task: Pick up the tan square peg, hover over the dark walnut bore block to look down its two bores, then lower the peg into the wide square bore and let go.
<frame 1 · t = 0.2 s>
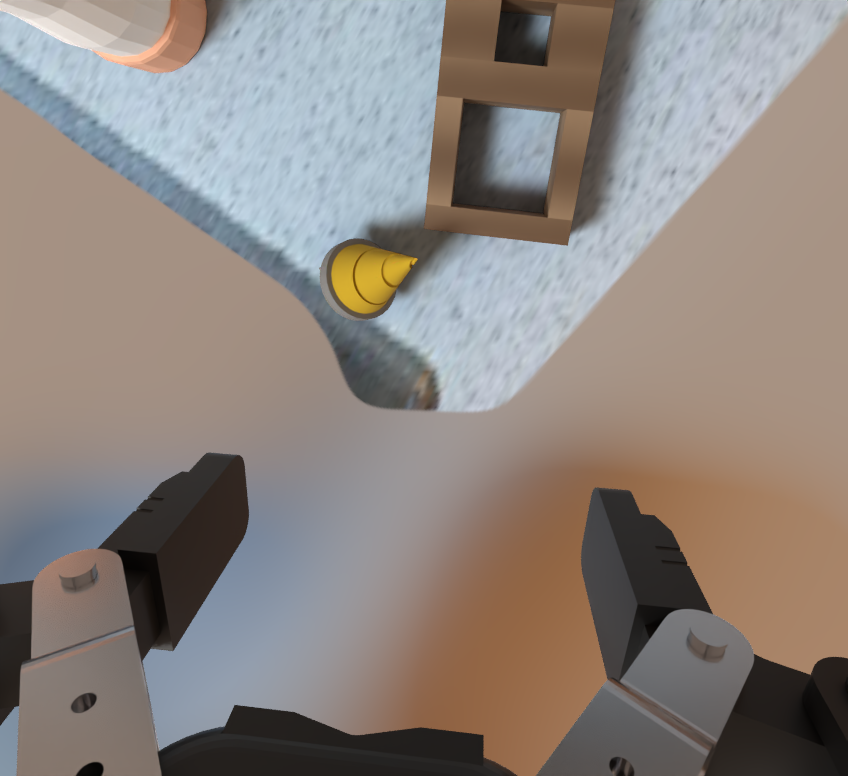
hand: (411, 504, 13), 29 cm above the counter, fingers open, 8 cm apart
bore block: (510, 116, 35), on the counter
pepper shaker: (152, 7, 35), on the counter
drill bit: (374, 261, 40), on the counter
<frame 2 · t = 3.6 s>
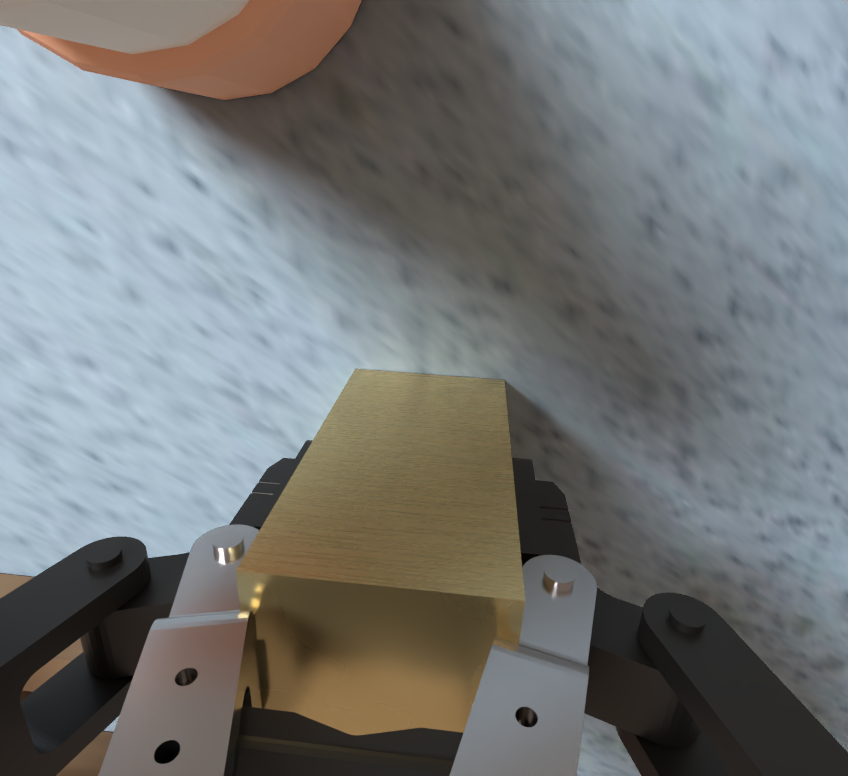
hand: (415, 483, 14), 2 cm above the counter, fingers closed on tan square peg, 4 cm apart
tan square peg: (425, 440, 16), on the counter, touching gripper
bore block: (168, 685, 21), on the counter
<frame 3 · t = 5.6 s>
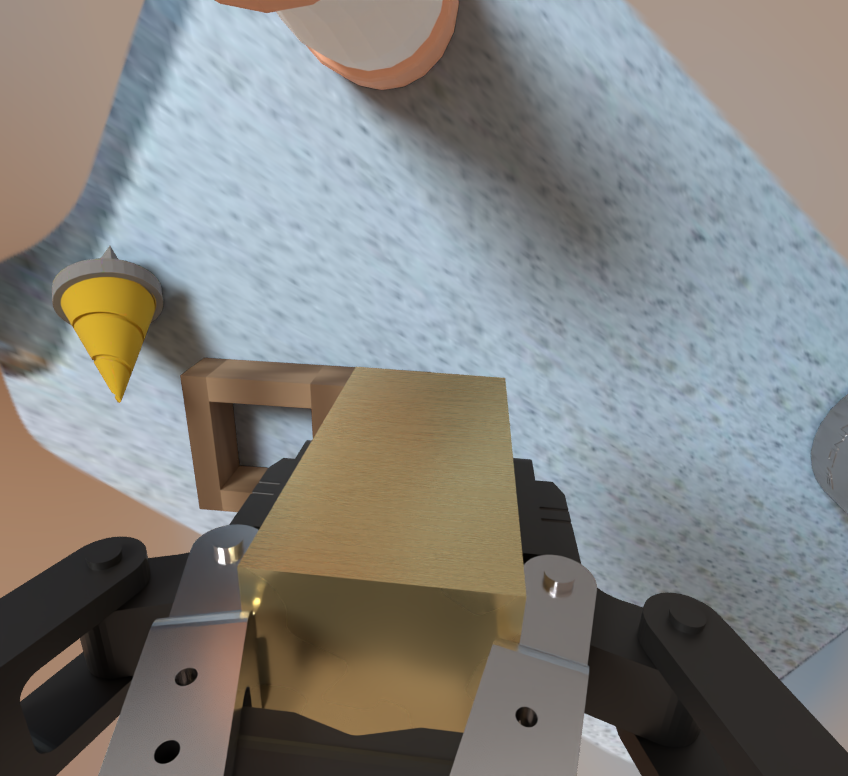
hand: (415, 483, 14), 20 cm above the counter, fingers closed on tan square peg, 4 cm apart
tan square peg: (426, 438, 16), point 17 cm above the counter, touching gripper
bore block: (318, 431, 36), on the counter
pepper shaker: (382, 4, 27), on the counter
drill bit: (150, 298, 34), on the counter
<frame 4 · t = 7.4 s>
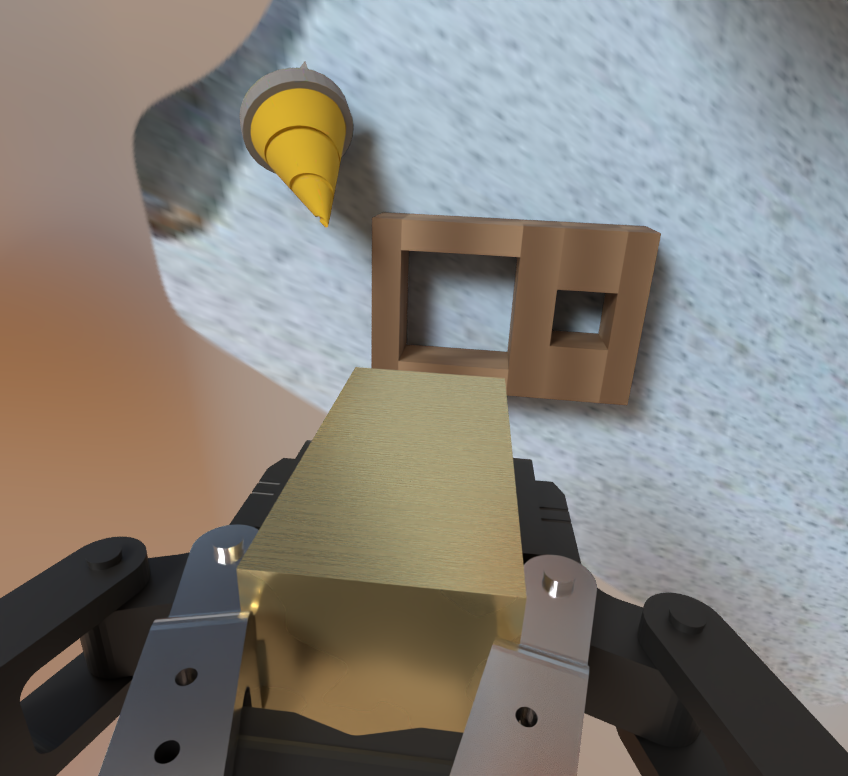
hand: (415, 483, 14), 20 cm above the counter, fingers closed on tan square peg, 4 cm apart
tan square peg: (426, 439, 16), point 18 cm above the counter, touching gripper
bore block: (503, 301, 32), on the counter
drill bit: (329, 140, 30), on the counter
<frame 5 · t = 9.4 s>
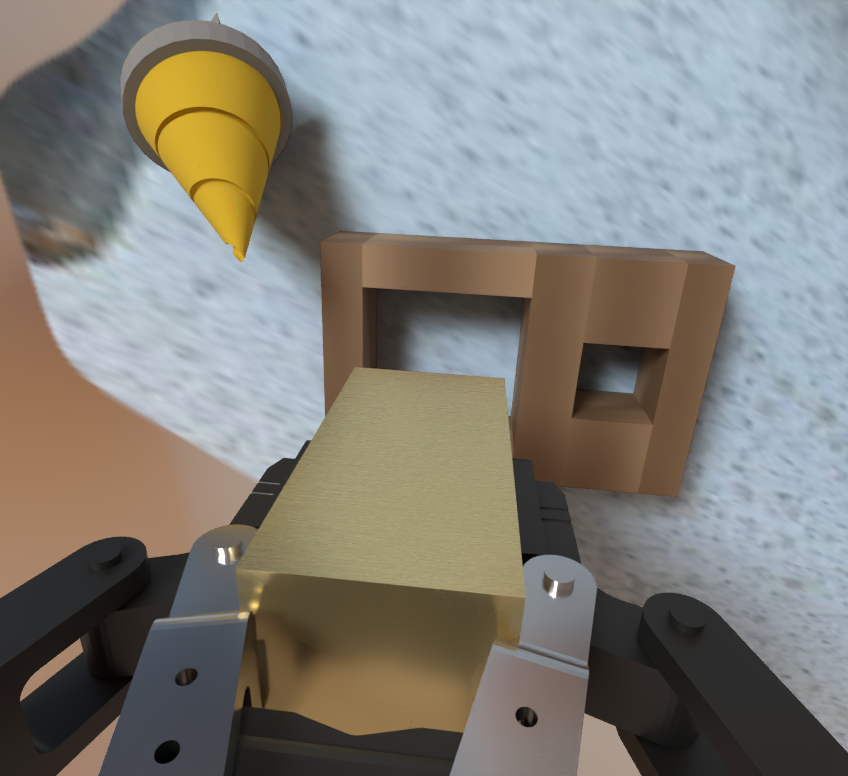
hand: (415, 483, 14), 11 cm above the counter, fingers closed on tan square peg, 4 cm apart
tan square peg: (425, 439, 16), point 9 cm above the counter, touching gripper
bore block: (506, 350, 24), on the counter
drill bit: (263, 131, 22), on the counter
when the fingers open (4 cm above the counter, at t = 11.1 s): tan square peg drops 1 cm, resting in bore block.
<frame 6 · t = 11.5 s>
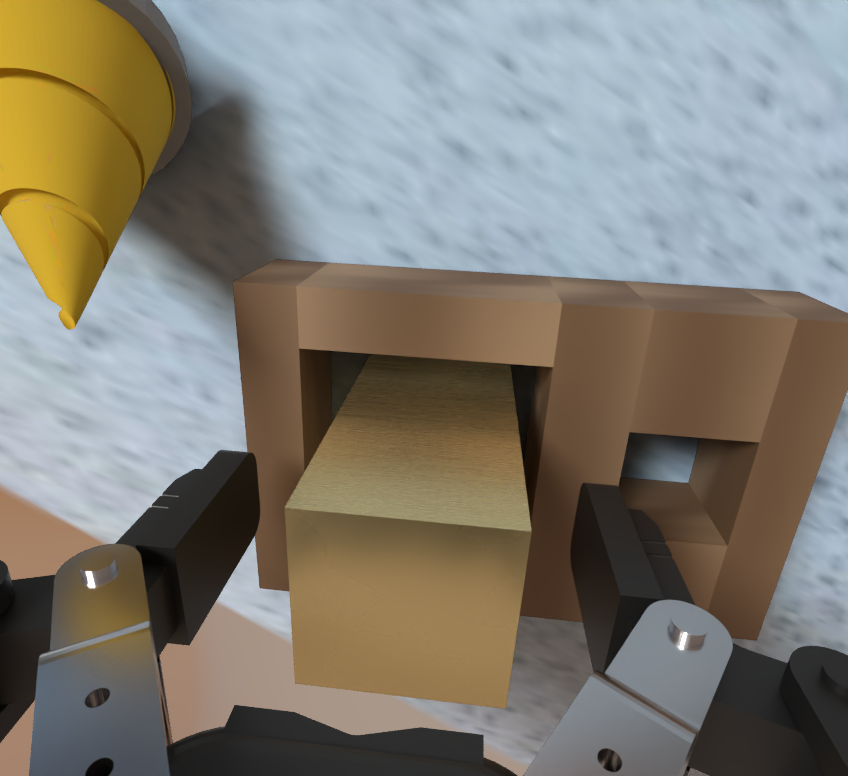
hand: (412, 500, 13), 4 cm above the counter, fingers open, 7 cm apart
tan square peg: (436, 417, 17), resting in bore block
bore block: (511, 424, 17), on the counter
drill bit: (160, 116, 15), on the counter
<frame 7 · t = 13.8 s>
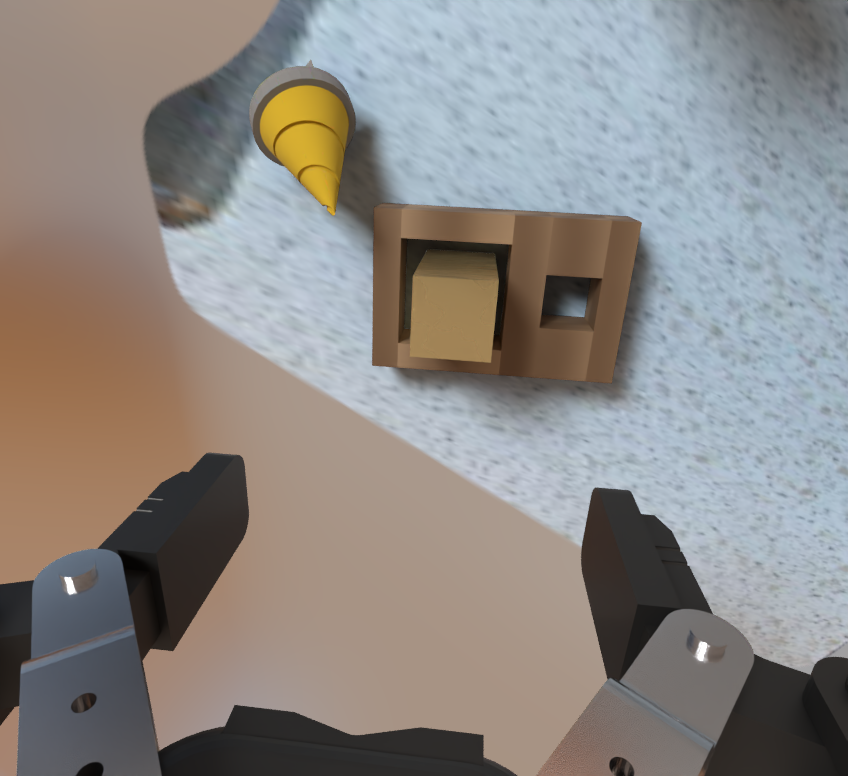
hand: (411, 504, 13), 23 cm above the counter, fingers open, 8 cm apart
tan square peg: (458, 284, 34), resting in bore block
bore block: (496, 287, 34), on the counter
drill bit: (332, 135, 32), on the counter
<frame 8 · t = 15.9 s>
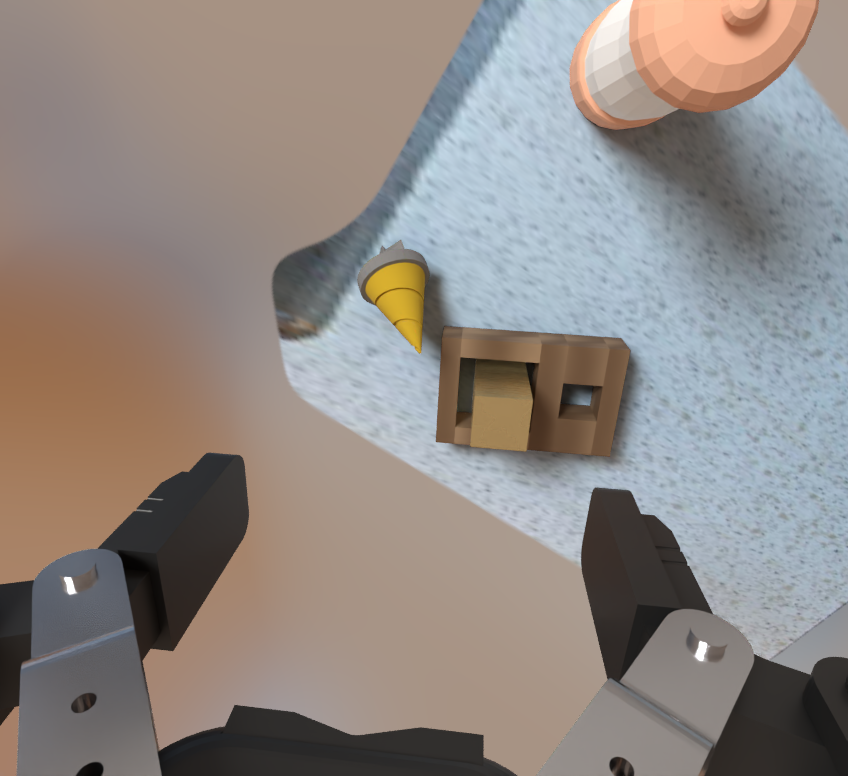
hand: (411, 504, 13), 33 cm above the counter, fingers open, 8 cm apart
tan square peg: (498, 381, 47), resting in bore block
bore block: (525, 384, 47), on the counter
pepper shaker: (624, 70, 38), on the counter
drill bit: (409, 279, 45), on the counter
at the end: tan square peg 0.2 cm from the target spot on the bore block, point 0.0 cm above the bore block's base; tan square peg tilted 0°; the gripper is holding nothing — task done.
